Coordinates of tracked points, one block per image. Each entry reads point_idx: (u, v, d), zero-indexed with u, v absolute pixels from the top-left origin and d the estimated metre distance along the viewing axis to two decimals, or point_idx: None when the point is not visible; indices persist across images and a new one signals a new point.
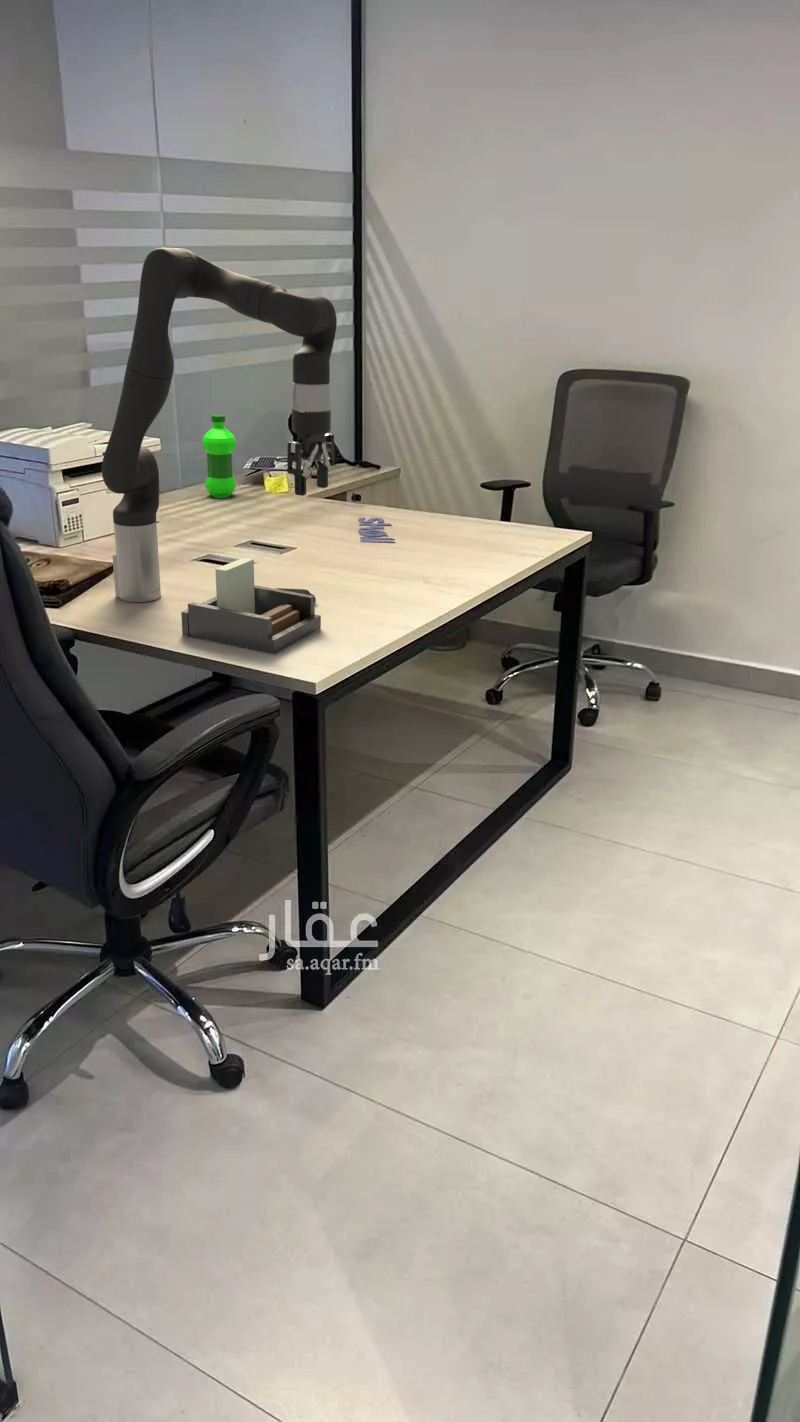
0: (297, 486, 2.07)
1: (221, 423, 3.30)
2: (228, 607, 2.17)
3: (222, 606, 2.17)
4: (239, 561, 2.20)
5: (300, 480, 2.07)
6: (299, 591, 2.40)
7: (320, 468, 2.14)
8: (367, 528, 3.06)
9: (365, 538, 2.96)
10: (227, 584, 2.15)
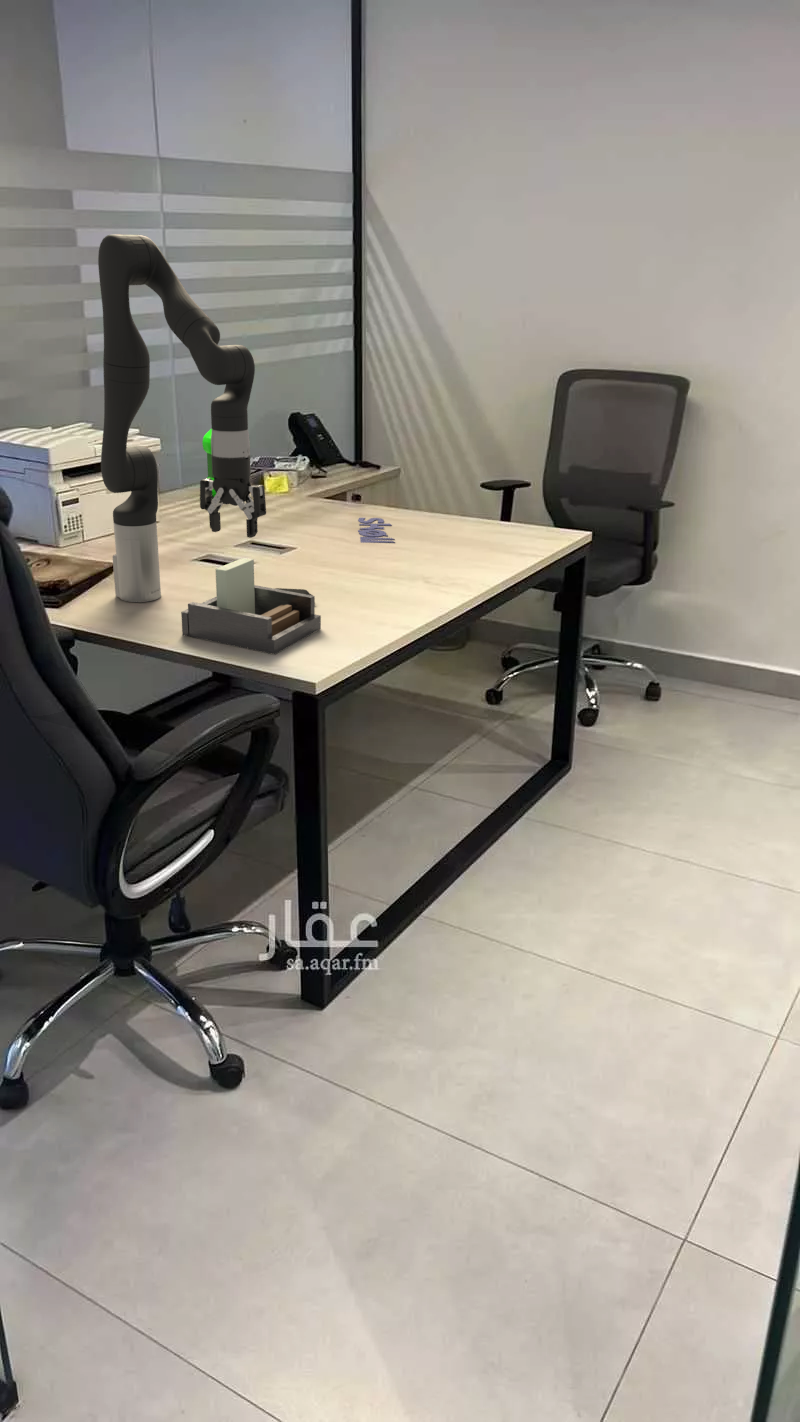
0: (255, 528, 2.13)
1: None
2: (228, 607, 2.17)
3: (222, 606, 2.17)
4: (239, 561, 2.20)
5: (256, 521, 2.13)
6: (298, 591, 2.40)
7: (215, 513, 2.15)
8: (367, 528, 3.06)
9: (365, 538, 2.96)
10: (227, 584, 2.15)
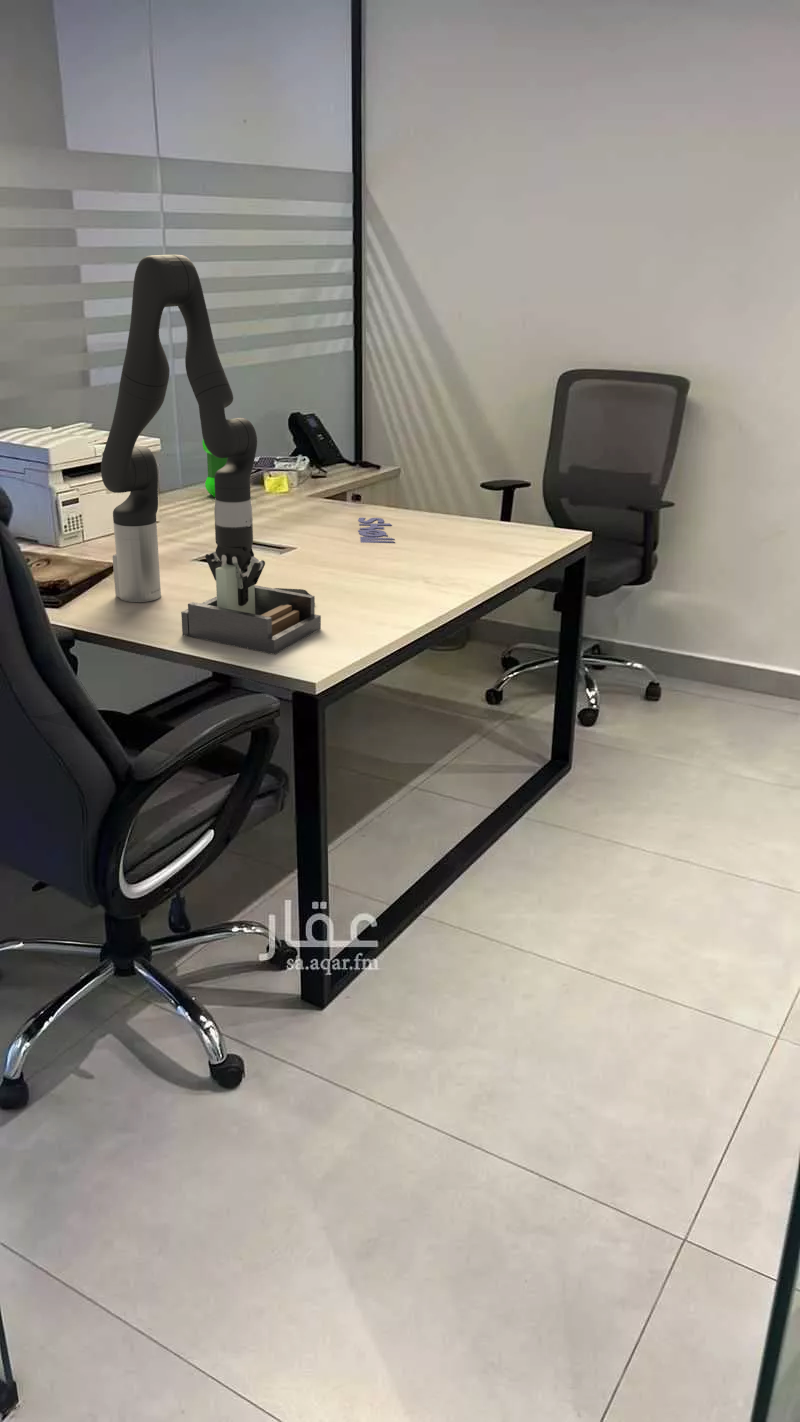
0: (246, 597, 2.20)
1: None
2: (228, 607, 2.17)
3: (222, 606, 2.17)
4: None
5: (247, 590, 2.20)
6: (297, 591, 2.40)
7: None
8: (367, 528, 3.06)
9: (365, 538, 2.96)
10: (227, 584, 2.15)
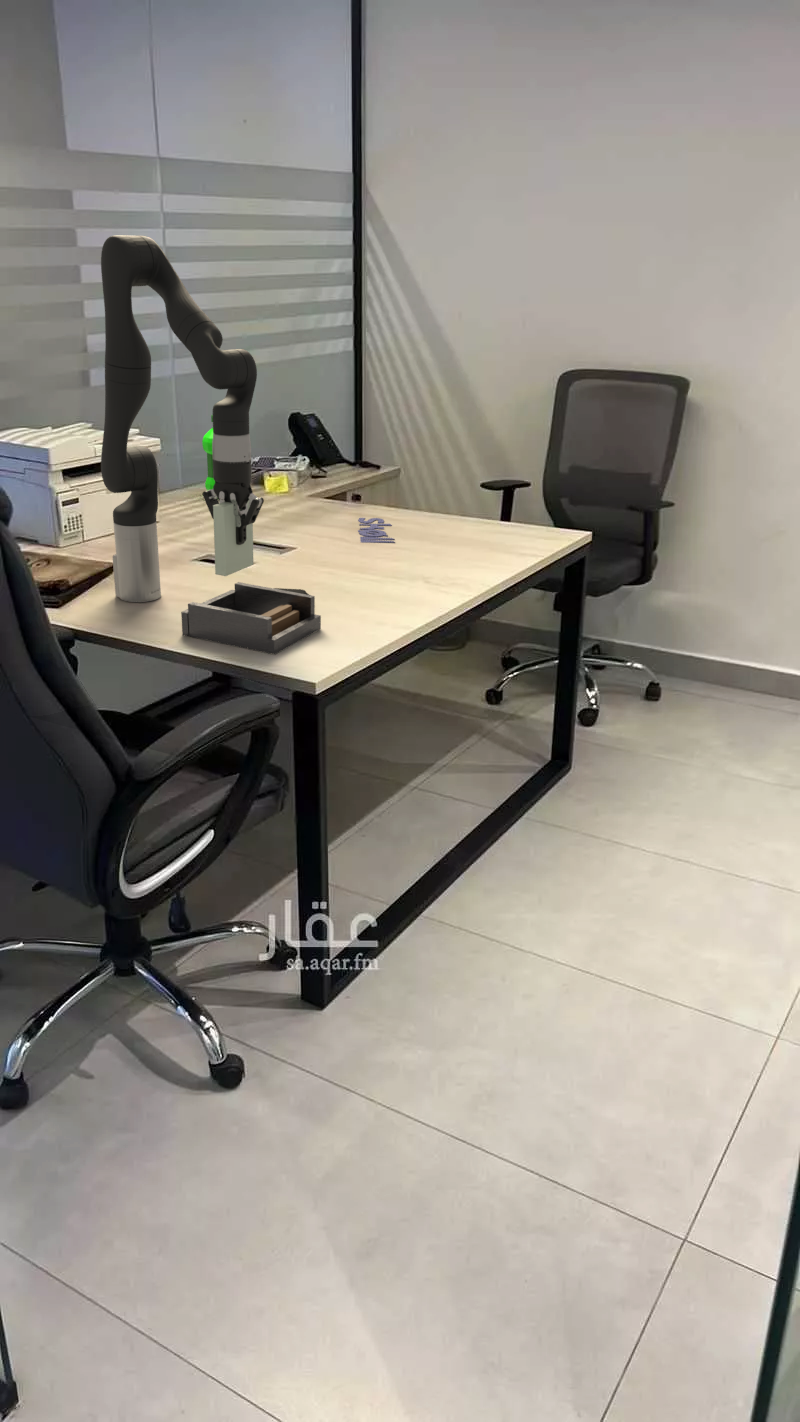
0: (244, 535, 2.15)
1: None
2: (226, 545, 2.12)
3: (220, 544, 2.12)
4: None
5: (245, 529, 2.15)
6: (296, 591, 2.40)
7: None
8: (367, 528, 3.06)
9: (365, 538, 2.96)
10: (225, 522, 2.10)
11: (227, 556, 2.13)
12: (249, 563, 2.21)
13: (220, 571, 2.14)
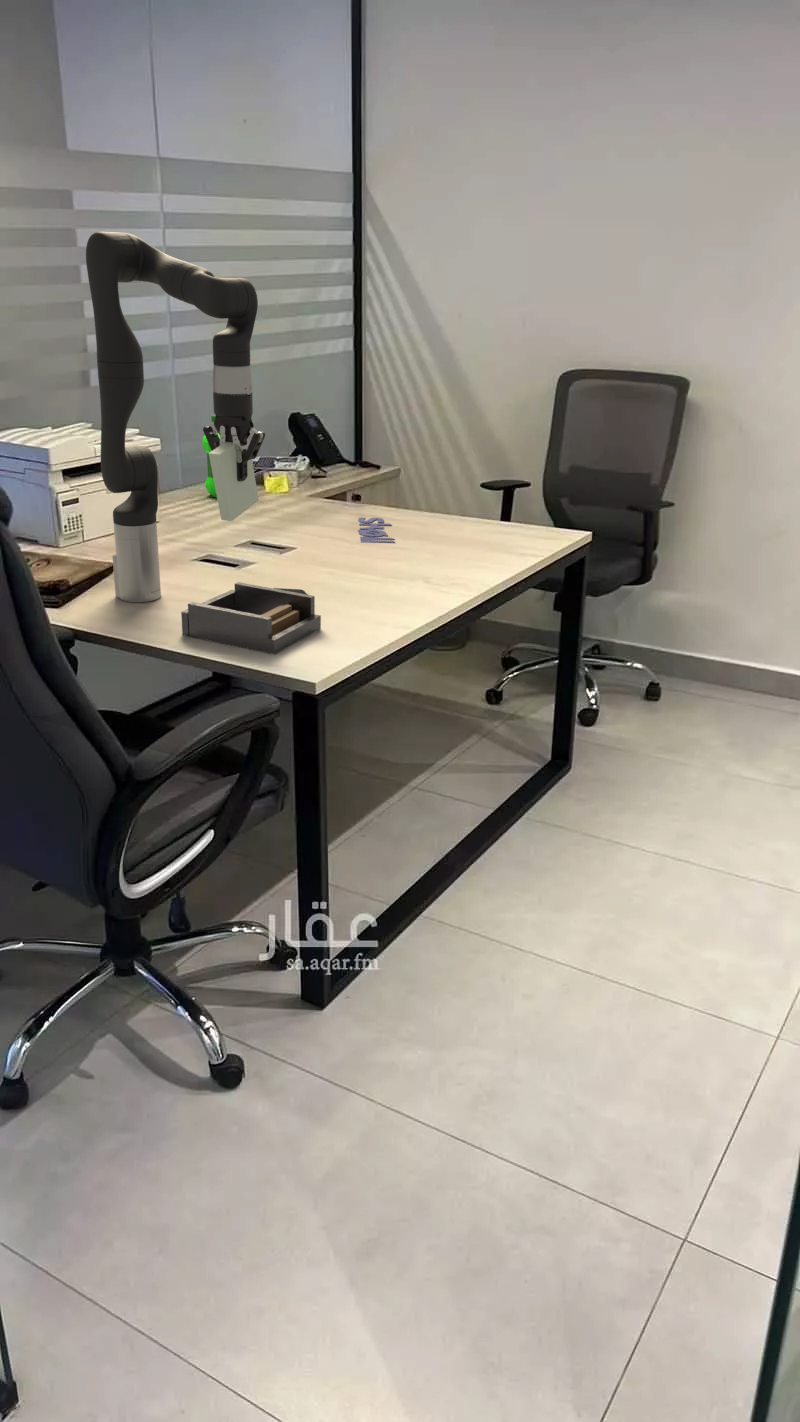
0: (245, 472, 2.11)
1: None
2: (227, 491, 2.09)
3: (221, 491, 2.09)
4: None
5: (246, 465, 2.11)
6: (295, 591, 2.40)
7: None
8: (367, 528, 3.06)
9: (365, 538, 2.96)
10: (223, 468, 2.06)
11: (231, 501, 2.11)
12: (254, 500, 2.18)
13: (225, 516, 2.12)
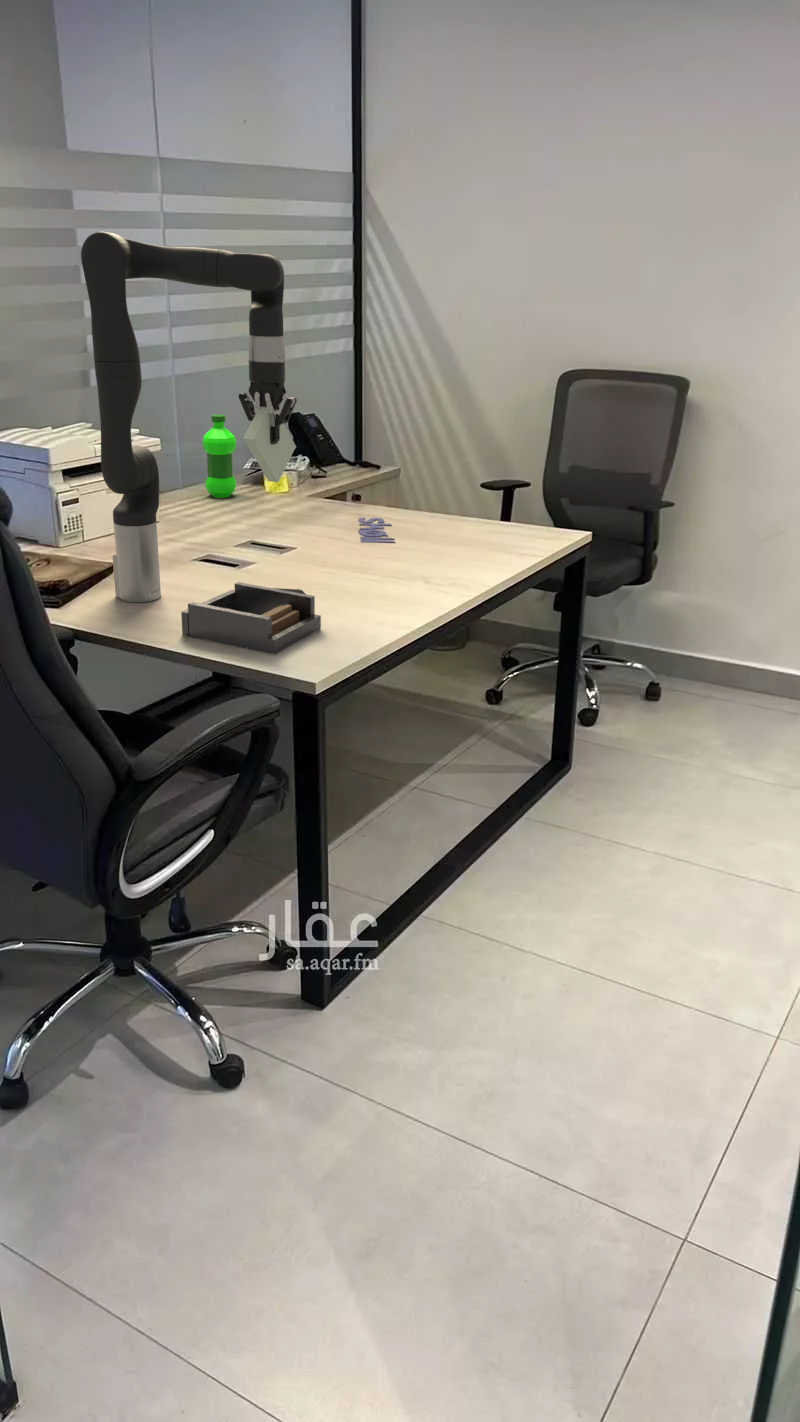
0: (277, 435, 2.27)
1: (221, 423, 3.30)
2: (268, 462, 2.29)
3: (262, 462, 2.29)
4: (260, 412, 2.25)
5: (278, 429, 2.27)
6: (293, 591, 2.40)
7: None
8: (367, 528, 3.06)
9: (365, 538, 2.96)
10: (259, 447, 2.25)
11: (273, 467, 2.31)
12: (292, 449, 2.36)
13: (271, 479, 2.33)
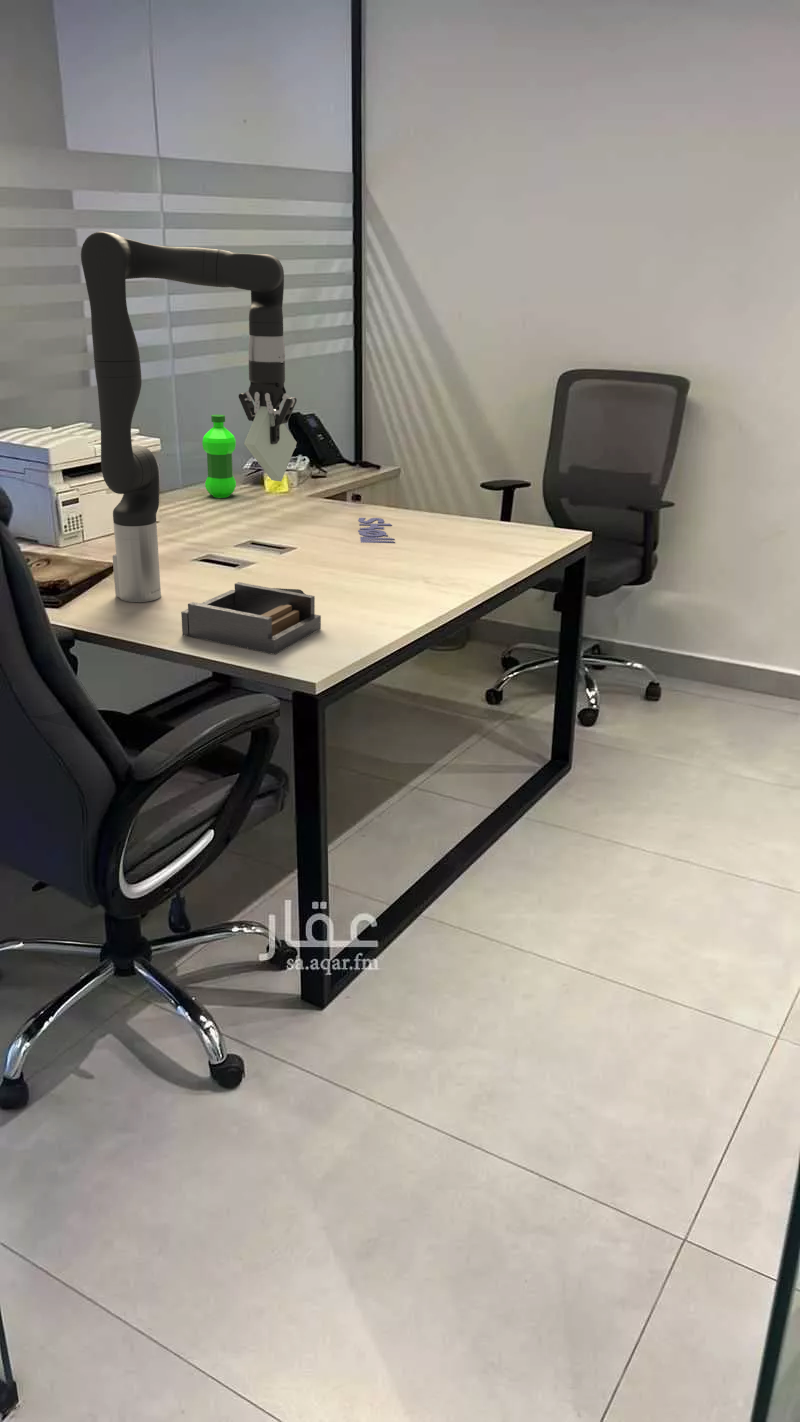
0: (277, 435, 2.27)
1: (221, 423, 3.30)
2: (270, 464, 2.29)
3: (264, 464, 2.30)
4: (259, 415, 2.25)
5: (278, 429, 2.27)
6: (293, 591, 2.40)
7: None
8: (367, 528, 3.06)
9: (365, 538, 2.96)
10: (261, 451, 2.25)
11: (275, 468, 2.32)
12: (293, 446, 2.36)
13: (274, 478, 2.34)
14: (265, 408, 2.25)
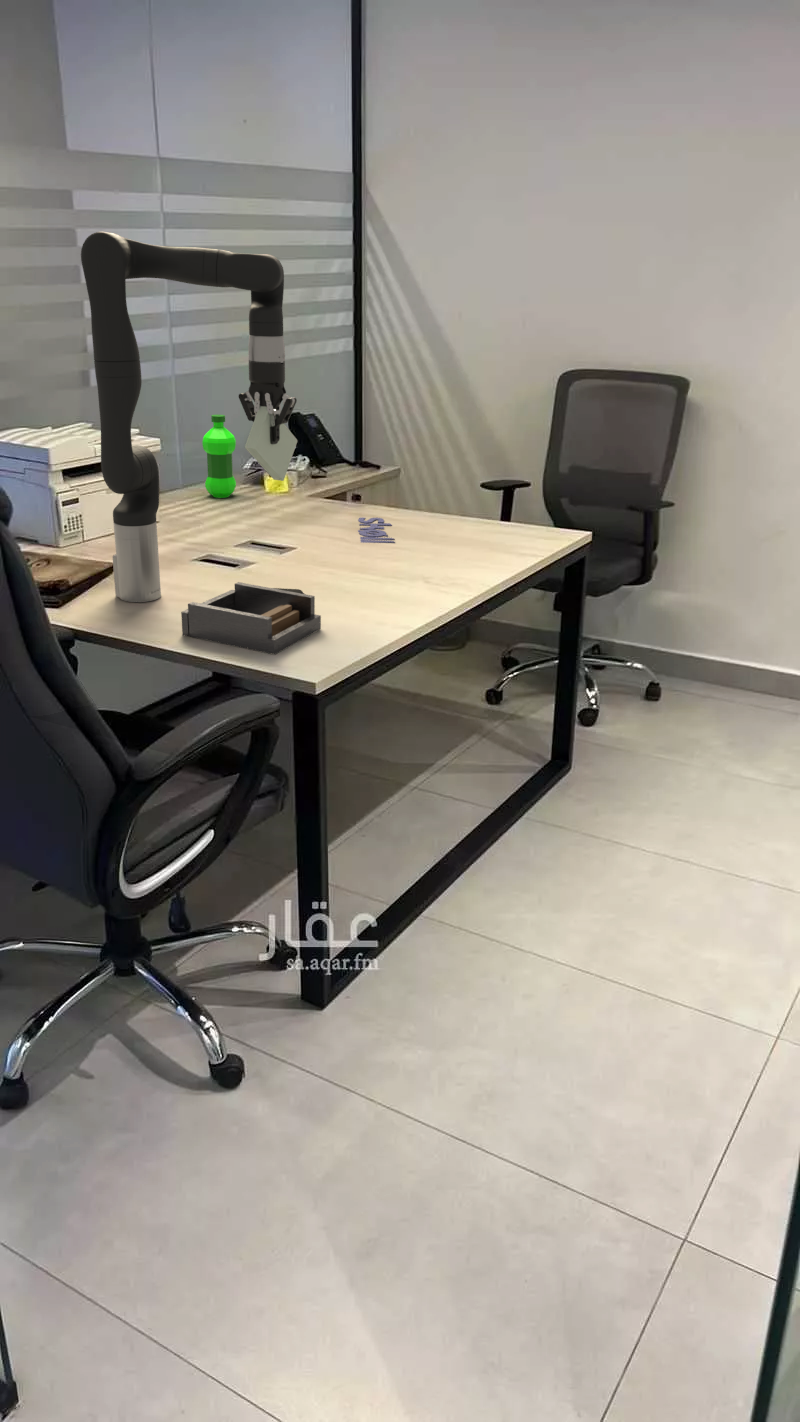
0: (277, 435, 2.27)
1: (221, 423, 3.30)
2: (271, 465, 2.30)
3: (266, 466, 2.30)
4: (259, 417, 2.25)
5: (278, 429, 2.27)
6: (292, 591, 2.40)
7: None
8: (367, 528, 3.06)
9: (365, 538, 2.96)
10: (261, 453, 2.26)
11: (277, 468, 2.32)
12: (294, 444, 2.36)
13: (276, 478, 2.35)
14: (264, 410, 2.25)
